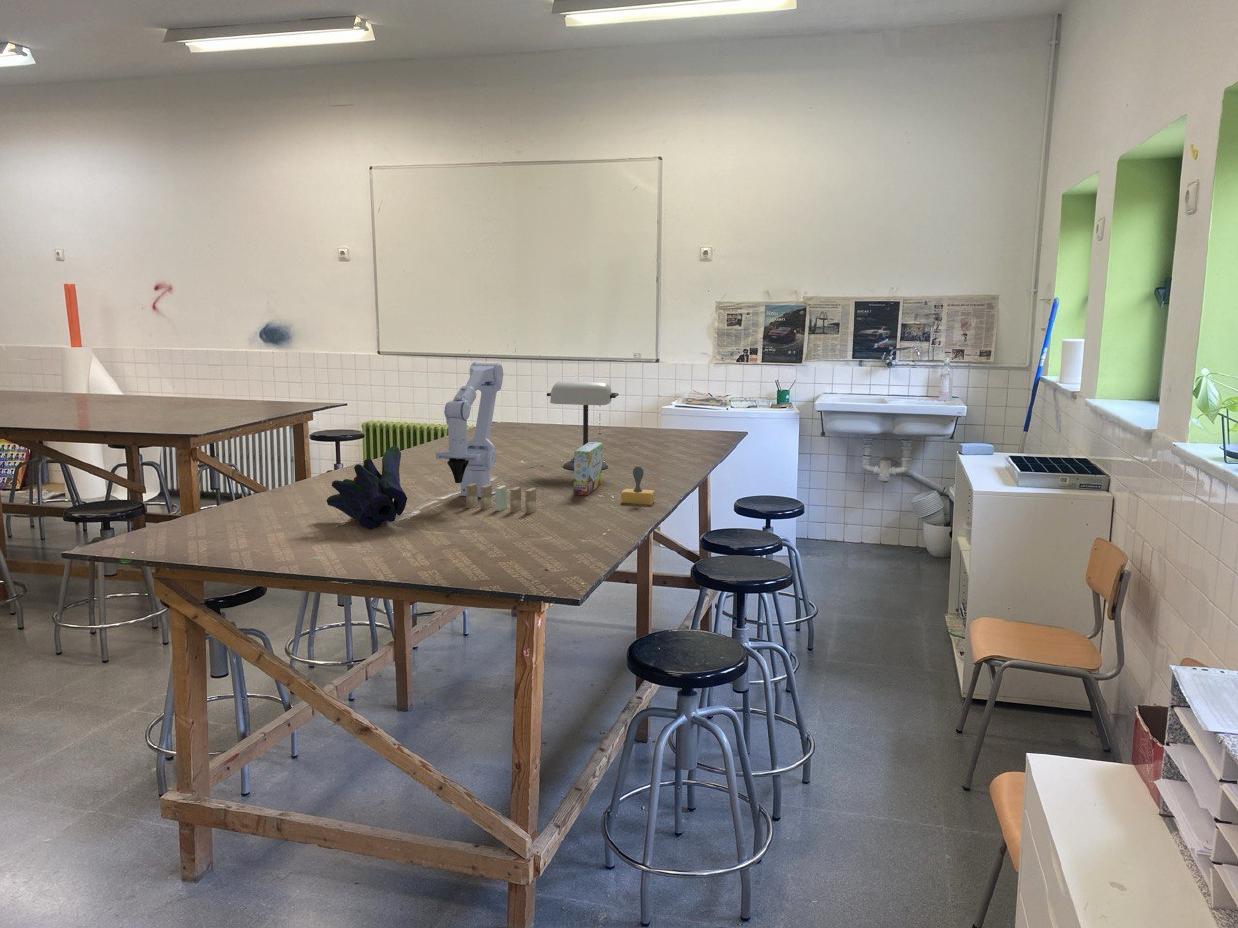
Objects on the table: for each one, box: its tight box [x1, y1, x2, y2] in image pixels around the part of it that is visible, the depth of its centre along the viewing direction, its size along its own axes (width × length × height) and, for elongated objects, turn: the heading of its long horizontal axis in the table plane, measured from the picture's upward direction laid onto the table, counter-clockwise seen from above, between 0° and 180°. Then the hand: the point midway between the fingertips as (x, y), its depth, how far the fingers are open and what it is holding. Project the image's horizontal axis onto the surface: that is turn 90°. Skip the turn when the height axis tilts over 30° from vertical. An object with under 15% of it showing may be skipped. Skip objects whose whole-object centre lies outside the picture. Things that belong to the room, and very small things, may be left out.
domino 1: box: [465, 483, 479, 509], centre depth 279 cm, size 2×4×7 cm, turn 162°
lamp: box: [546, 381, 620, 471], centre depth 343 cm, size 26×24×34 cm
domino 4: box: [509, 486, 522, 513], centre depth 274 cm, size 2×4×7 cm, turn 162°
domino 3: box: [495, 485, 508, 512], centre depth 276 cm, size 2×4×7 cm, turn 161°
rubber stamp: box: [620, 465, 656, 506], centre depth 288 cm, size 10×6×12 cm, turn 78°
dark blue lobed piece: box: [325, 445, 408, 530], centre depth 261 cm, size 21×26×30 cm
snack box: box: [572, 441, 604, 496], centre depth 306 cm, size 21×6×15 cm, turn 169°
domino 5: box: [524, 487, 537, 515], centre depth 273 cm, size 2×4×7 cm, turn 162°
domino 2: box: [480, 484, 493, 511], centre depth 277 cm, size 2×4×7 cm, turn 161°
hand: (458, 482), depth 280 cm, fingers closed
